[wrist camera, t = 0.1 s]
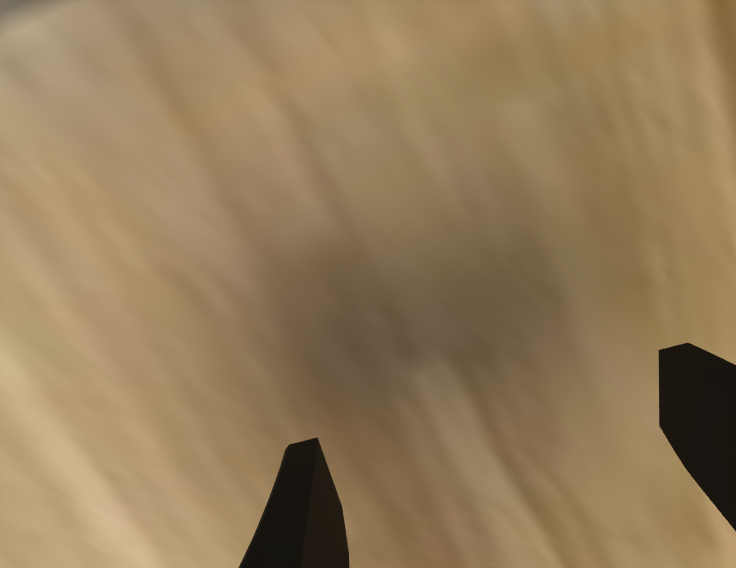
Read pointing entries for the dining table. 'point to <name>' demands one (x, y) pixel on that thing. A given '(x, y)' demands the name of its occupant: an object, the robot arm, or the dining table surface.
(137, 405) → the dining table surface
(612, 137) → the dining table surface
